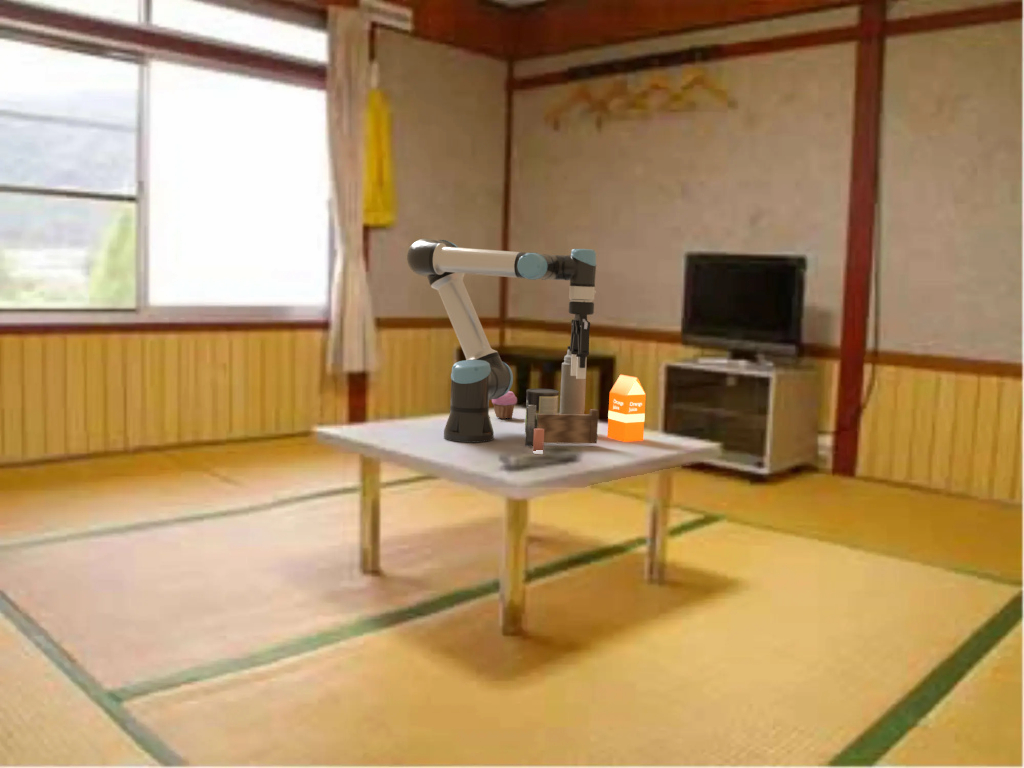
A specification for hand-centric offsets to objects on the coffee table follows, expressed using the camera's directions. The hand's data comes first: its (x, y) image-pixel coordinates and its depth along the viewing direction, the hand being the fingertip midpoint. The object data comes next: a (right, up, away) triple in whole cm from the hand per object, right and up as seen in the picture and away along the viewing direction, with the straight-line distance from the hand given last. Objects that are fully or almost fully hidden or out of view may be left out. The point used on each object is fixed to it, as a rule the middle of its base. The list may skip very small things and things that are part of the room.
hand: (578, 377), depth 284 cm
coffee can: (-11, -18, +14) cm, 25 cm away
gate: (-4, -19, -4) cm, 20 cm away
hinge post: (-15, -20, -6) cm, 26 cm away
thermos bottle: (-1, -18, +21) cm, 27 cm away
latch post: (-13, -22, -18) cm, 31 cm away
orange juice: (+16, -20, +12) cm, 28 cm away
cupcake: (-23, -14, +44) cm, 52 cm away
